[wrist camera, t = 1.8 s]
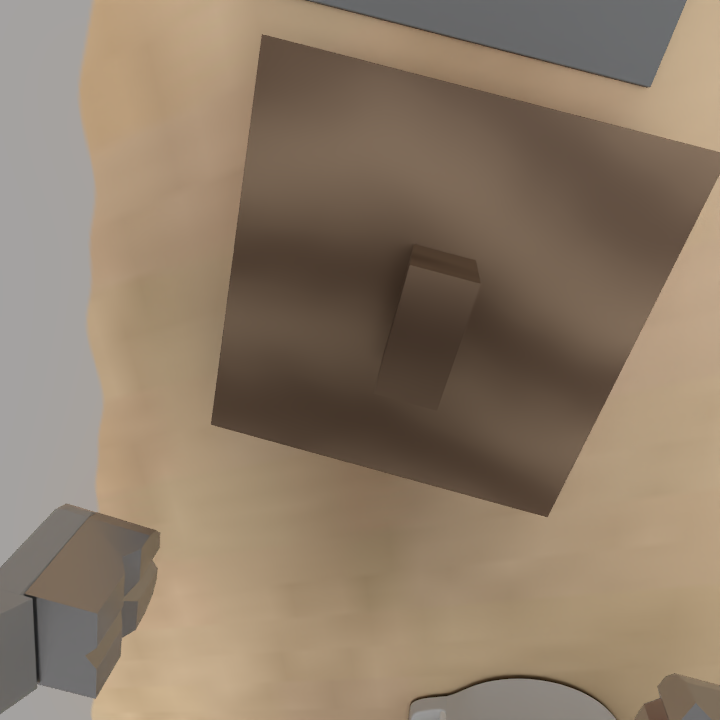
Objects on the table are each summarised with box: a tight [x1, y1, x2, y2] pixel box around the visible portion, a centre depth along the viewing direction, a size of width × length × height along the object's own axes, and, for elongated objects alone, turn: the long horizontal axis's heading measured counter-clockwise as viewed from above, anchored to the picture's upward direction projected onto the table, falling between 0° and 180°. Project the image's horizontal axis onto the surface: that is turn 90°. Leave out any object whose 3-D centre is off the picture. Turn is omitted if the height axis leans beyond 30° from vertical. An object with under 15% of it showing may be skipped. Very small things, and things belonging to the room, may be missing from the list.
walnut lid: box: [211, 34, 720, 517], centre depth 21 cm, size 16×16×4 cm
